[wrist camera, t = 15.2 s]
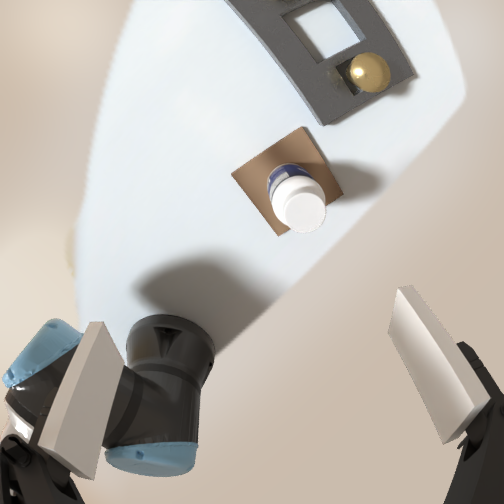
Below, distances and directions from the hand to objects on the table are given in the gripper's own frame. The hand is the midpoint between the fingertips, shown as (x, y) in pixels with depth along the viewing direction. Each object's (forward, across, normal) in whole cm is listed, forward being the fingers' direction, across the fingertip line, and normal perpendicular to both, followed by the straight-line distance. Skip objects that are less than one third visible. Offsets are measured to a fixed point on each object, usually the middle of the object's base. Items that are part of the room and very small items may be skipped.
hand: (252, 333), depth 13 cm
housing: (+26, +11, +18) cm, 33 cm away
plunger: (+24, +14, +12) cm, 30 cm away
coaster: (+26, +6, -1) cm, 27 cm away
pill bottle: (+26, +6, -1) cm, 26 cm away
